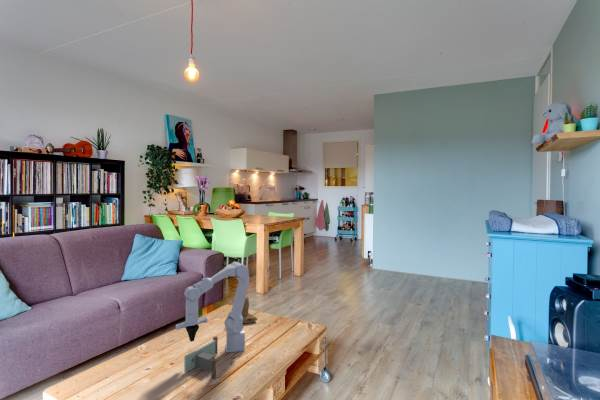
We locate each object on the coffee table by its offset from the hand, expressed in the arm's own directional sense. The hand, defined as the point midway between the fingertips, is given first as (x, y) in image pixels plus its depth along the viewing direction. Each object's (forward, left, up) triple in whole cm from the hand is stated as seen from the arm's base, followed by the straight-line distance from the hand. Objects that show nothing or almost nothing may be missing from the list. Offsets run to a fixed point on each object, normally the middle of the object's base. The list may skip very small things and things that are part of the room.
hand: (191, 340), depth 154 cm
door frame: (-11, +5, -10) cm, 16 cm away
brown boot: (-27, -45, -10) cm, 53 cm away
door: (-5, +3, -9) cm, 11 cm away
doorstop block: (-7, +7, -10) cm, 14 cm away
